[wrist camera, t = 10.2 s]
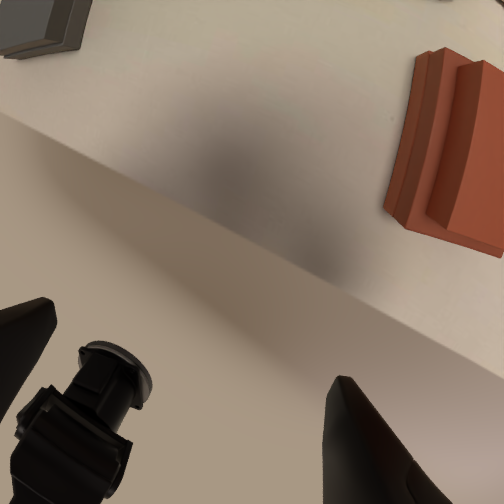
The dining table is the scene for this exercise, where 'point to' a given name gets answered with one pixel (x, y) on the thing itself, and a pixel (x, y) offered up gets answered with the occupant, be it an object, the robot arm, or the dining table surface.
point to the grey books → (41, 26)
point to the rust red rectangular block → (473, 158)
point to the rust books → (427, 148)
